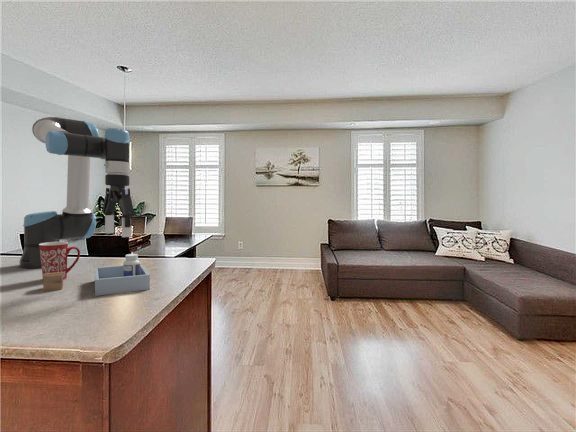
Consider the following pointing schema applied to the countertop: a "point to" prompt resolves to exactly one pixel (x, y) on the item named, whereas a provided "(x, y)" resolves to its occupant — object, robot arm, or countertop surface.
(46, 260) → the mug
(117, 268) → the tote
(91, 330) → the countertop surface
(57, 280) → the wooden cube
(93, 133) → the robot arm
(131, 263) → the pill bottle
